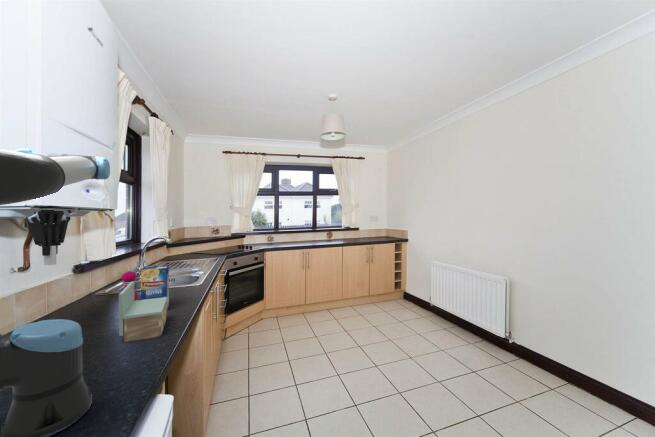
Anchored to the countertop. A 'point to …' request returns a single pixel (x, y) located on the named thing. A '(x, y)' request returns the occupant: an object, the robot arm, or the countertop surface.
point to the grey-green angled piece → (137, 306)
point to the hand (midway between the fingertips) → (50, 264)
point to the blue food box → (155, 282)
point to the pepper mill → (129, 280)
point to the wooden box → (144, 327)
